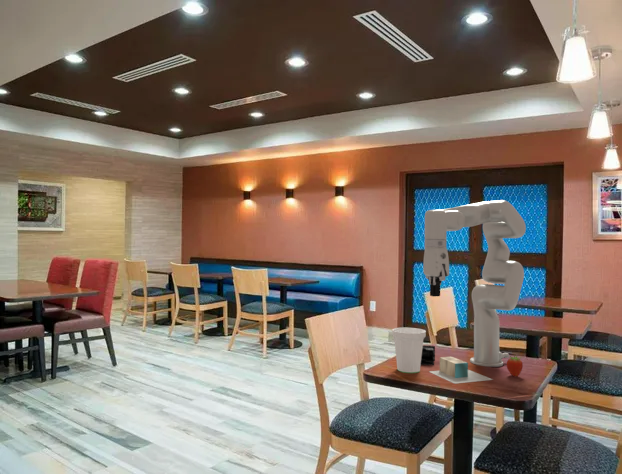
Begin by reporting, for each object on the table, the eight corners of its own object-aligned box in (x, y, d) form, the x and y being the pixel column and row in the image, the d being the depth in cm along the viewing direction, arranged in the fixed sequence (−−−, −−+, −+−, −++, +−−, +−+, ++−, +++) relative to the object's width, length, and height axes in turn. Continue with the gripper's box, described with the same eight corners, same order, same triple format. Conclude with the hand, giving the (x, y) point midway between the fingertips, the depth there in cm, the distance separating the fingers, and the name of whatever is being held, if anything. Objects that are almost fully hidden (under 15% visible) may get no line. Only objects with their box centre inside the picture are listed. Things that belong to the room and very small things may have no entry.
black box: (434, 361, 196) (434, 344, 196) (435, 365, 189) (435, 348, 189) (409, 359, 198) (409, 343, 198) (409, 364, 191) (409, 347, 191)
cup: (388, 373, 177) (388, 331, 177) (395, 365, 189) (395, 326, 189) (423, 377, 172) (423, 334, 173) (427, 368, 184) (428, 328, 184)
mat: (464, 369, 184) (464, 368, 184) (493, 380, 169) (493, 379, 169) (428, 372, 179) (428, 371, 179) (454, 384, 163) (454, 383, 163)
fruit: (512, 379, 171) (512, 356, 171) (503, 375, 176) (503, 353, 176) (525, 378, 172) (526, 355, 172) (516, 374, 177) (516, 352, 177)
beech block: (467, 376, 172) (451, 369, 181) (467, 362, 172) (451, 356, 181) (455, 378, 170) (439, 370, 180) (456, 363, 170) (439, 357, 180)
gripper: (457, 244, 166) (456, 298, 166) (432, 244, 180) (432, 293, 180) (438, 244, 164) (438, 298, 163) (415, 244, 178) (414, 294, 178)
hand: (435, 296), depth 172 cm, fingers closed
